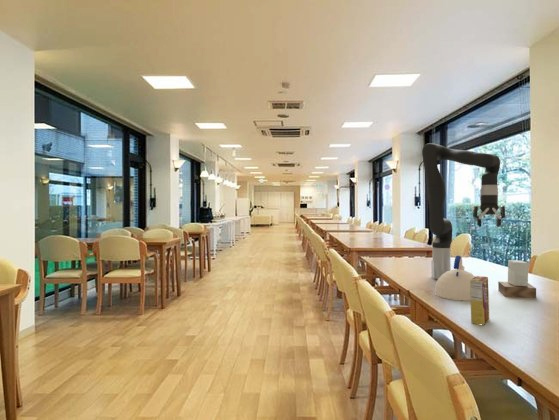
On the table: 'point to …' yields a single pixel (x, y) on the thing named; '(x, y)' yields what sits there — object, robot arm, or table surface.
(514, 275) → the small box
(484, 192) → the robot arm
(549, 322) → the table surface
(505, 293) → the walnut block
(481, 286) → the candy box
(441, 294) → the kettle
